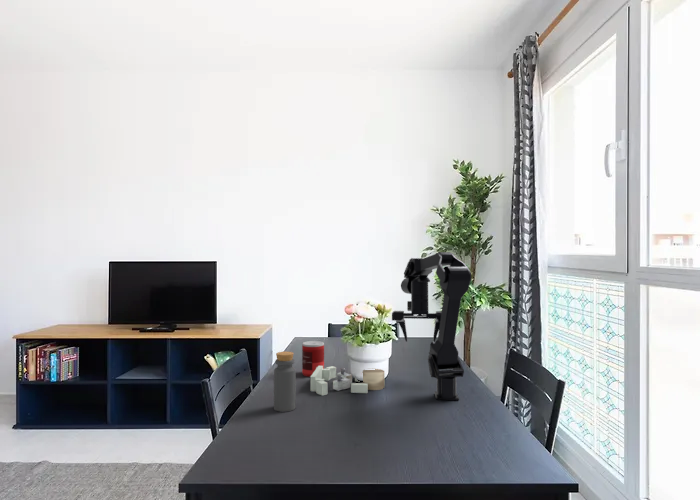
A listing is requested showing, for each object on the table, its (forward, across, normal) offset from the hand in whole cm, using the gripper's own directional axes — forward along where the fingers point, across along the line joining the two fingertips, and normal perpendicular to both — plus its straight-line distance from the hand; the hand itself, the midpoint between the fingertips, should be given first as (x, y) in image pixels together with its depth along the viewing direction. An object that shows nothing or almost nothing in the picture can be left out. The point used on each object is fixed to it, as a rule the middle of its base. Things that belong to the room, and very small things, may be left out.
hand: (420, 341), depth 150 cm
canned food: (+13, +37, -2) cm, 40 cm away
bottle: (+13, +37, +34) cm, 52 cm away
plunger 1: (+13, +25, +14) cm, 31 cm away
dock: (+13, +25, +10) cm, 30 cm away
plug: (+13, +15, +10) cm, 22 cm away
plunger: (+12, +25, +7) cm, 29 cm away
